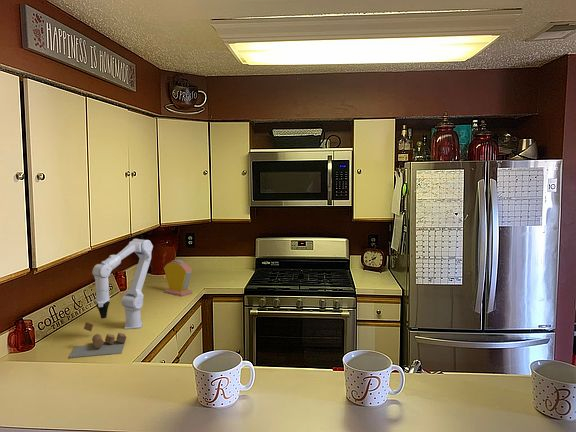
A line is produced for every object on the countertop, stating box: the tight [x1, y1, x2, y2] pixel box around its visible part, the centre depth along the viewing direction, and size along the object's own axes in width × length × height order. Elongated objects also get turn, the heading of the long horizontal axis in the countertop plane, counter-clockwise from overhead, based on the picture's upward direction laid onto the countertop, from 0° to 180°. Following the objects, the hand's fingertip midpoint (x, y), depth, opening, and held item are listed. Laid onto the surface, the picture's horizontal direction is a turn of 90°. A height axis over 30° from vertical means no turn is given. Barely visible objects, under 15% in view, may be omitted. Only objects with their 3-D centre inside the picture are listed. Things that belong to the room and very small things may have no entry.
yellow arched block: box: [163, 259, 193, 297], centre depth 300 cm, size 22×9×22 cm, turn 53°
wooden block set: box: [83, 321, 127, 348], centre depth 209 cm, size 18×9×10 cm
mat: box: [68, 342, 126, 359], centre depth 204 cm, size 13×21×1 cm, turn 103°
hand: (103, 317), depth 221 cm, fingers closed
